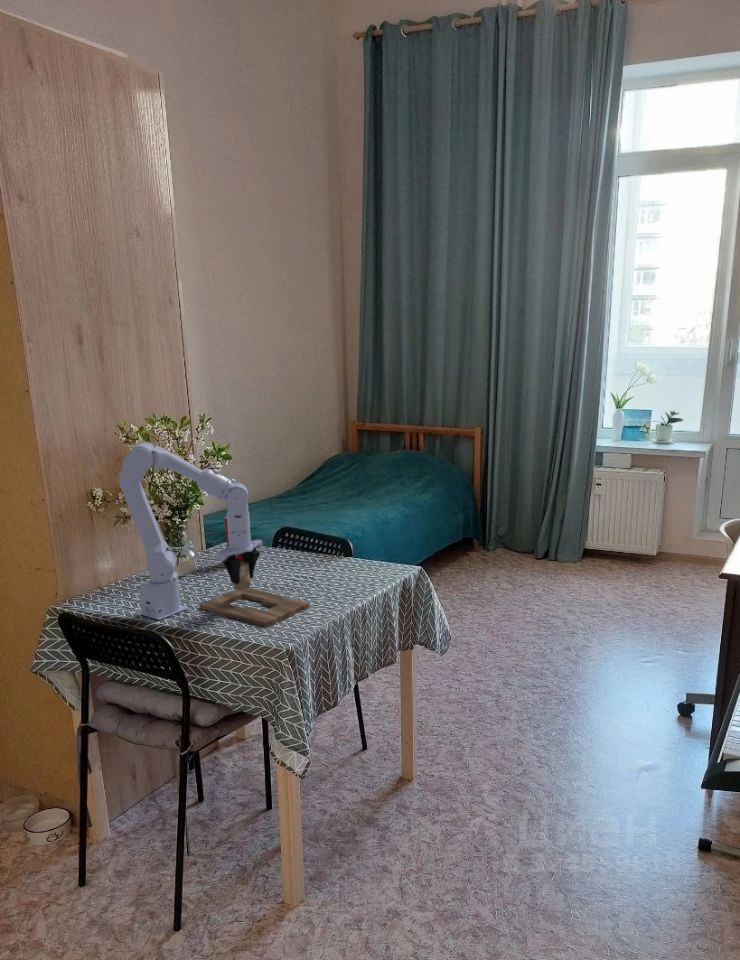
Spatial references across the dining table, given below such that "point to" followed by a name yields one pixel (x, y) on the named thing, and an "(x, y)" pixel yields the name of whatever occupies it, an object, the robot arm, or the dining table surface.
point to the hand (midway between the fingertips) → (242, 580)
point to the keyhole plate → (278, 612)
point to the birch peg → (243, 576)
